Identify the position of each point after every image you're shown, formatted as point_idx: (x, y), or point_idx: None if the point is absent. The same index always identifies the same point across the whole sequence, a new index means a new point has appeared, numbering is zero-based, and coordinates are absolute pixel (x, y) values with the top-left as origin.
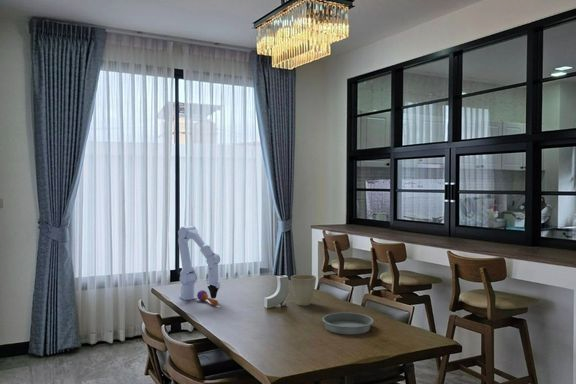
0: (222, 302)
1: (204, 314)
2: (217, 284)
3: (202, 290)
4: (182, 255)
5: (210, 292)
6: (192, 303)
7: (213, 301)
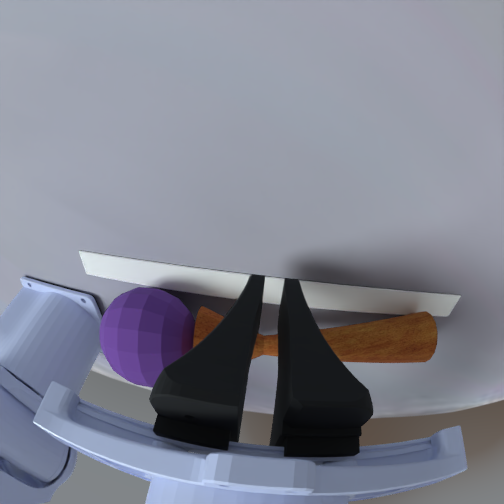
0: (360, 200)
1: (453, 388)
2: (428, 483)
3: (131, 376)
4: None
5: (248, 370)
6: None
7: (418, 361)
